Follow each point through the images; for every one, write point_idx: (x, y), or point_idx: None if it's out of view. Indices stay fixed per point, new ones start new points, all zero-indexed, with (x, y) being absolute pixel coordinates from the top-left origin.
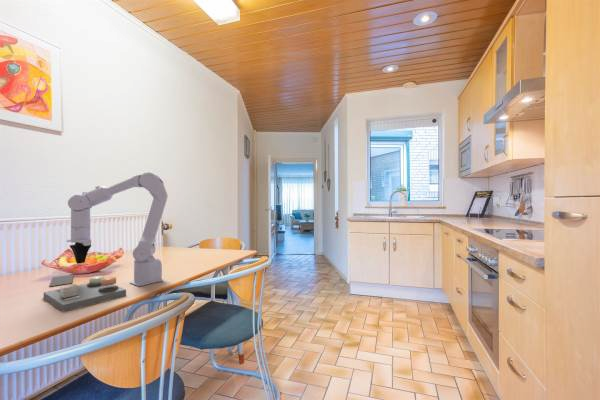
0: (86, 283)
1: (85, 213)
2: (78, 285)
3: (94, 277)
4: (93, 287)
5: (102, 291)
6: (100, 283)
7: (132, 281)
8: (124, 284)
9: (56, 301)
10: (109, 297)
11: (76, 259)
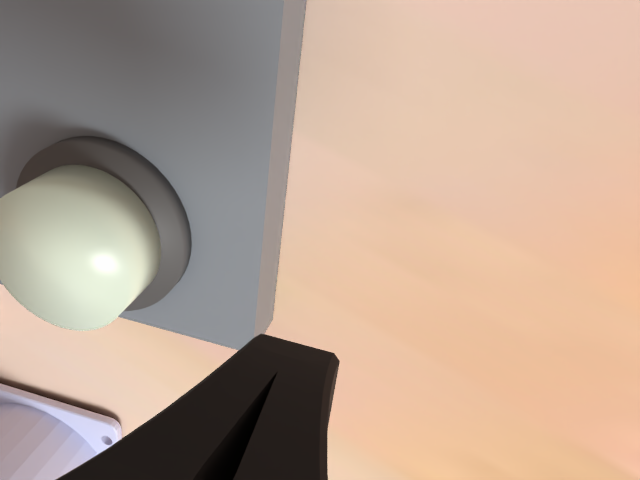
0: (261, 211)
1: None
2: (250, 121)
3: (86, 258)
4: (17, 143)
5: None
6: None
7: (112, 442)
8: (124, 387)
9: None
10: None
11: (233, 385)
